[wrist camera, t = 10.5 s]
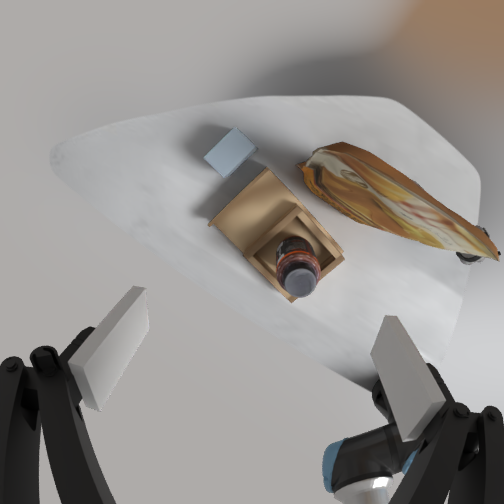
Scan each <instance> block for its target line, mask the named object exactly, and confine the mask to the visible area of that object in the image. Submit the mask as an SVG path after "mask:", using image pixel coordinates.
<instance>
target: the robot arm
mask: <svg viewBox="0 0 504 504" xmlns="http://www.w3.org/2000/svg"><path fill="white" fill-rule="evenodd" d="M149 329H150V328H149V318H148V308H147V296H146V288H143V287H137V286H133V287H132V288H131V289H130V290H129V291H128V292H127V294H126V295H125V296H124V297H123V298H122V299H121V300H120V301H119V302H118V303H117V305H116V306H115V307H114V308H113V309H112V310H111V311H110V313H109V314H108V315H107V316H106V317H105V318H104V319H103V321H102V322H101V323H100V324H99V325H98V326H97V327H96V328H94V327H88V328H86V329H84V330H82V331H81V332H80V333H79V334H78V335H77V337H76V339H74V340H73V341H72V342H71V344H70V345H69V346H68V347H67V348H66V349H65V350H64V351H63V352H62V354H61V355H60V356H58V353H57V351H56V349H55V348H53V347H51V346H41V347H38V348H36V349H35V350H33V351H32V353H31V354H30V360H31V363H32V365H33V367H26V366H25V365H24V363H23V361H22V359H20V358H19V357H15V356H13V357H9V358H6V359H5V360H4V361H3V362H2V364H1V365H0V504H40V501H39V447H40V446H39V445H40V433H41V423H42V429H43V435H44V440H45V445H46V450H47V454H48V459H49V462H50V467H51V471H52V474H53V477H54V481H55V485H56V488H57V491H58V494H59V497H60V500H61V503H62V504H116V503H115V500H114V498H113V496H112V494H111V492H110V490H109V487H108V485H107V483H106V480H105V478H104V476H103V474H102V471H101V468H100V466H99V464H98V461H97V458H96V456H95V453H94V450H93V447H92V444H91V441H90V439H89V435H88V432H87V429H86V426H85V422H84V419H83V415H82V412H81V408H80V406H79V403H80V401H81V399H83V401H84V403H85V405H86V406H87V407H89V408H91V409H94V410H97V411H99V412H101V410H102V408H103V406H104V404H105V403H106V401H107V399H108V397H109V396H110V394H111V392H112V391H113V389H114V387H115V385H116V383H117V382H118V380H119V378H120V377H121V375H122V373H123V372H124V370H125V369H126V367H127V365H128V364H129V362H130V360H131V358H132V356H133V355H134V354H135V352H136V350H137V349H138V347H139V345H140V344H141V342H142V341H143V339H144V337H145V336H146V334H147V333H148V331H149ZM370 354H371V357H372V359H373V362H374V364H375V367H376V369H377V372H378V374H379V377H380V379H379V380H378V382H377V383H376V384H375V386H374V388H373V391H372V398H373V401H374V404H375V406H376V408H377V409H378V410H379V411H380V412H381V413H382V414H383V416H385V418H386V419H387V420H388V423H389V424H388V425H385V426H383V427H379V428H377V429H374V430H371V431H368V432H365V433H363V434H360V435H357V436H353V437H350V438H344V439H343V440H341V441H338V442H335V443H332V444H330V445H329V446H328V447H327V448H326V450H325V452H324V456H323V465H322V467H323V468H322V471H323V477H324V485H325V489H326V490H327V491H328V492H329V493H334V498H335V499H337V500H339V501H341V502H342V503H343V504H444V502H445V499H446V497H447V495H448V492H449V490H450V492H449V498H448V504H504V424H503V417H502V414H501V412H500V411H499V410H498V409H497V408H496V407H494V406H487V407H485V408H484V410H483V411H482V412H481V413H473V412H470V410H469V408H468V407H467V406H466V405H464V404H462V403H458V402H455V401H454V399H453V397H452V395H451V393H450V391H449V390H448V388H447V386H446V384H445V383H444V381H443V379H442V378H441V376H440V374H439V372H438V371H437V369H436V368H435V367H434V366H433V365H431V364H430V363H425V361H424V360H423V358H422V356H421V355H420V353H419V351H418V349H417V348H416V346H415V345H414V343H413V341H412V340H411V338H410V336H409V335H408V333H407V332H406V330H405V328H404V327H403V325H402V324H401V322H400V320H399V319H398V317H397V316H387V315H385V317H384V320H383V323H382V325H381V328H380V331H379V333H378V336H377V338H376V341H375V344H374V346H373V348H372V351H371V353H370ZM478 448H479V451H478ZM401 471H402V472H403V474H404V475H405V476H404V478H403V480H402V482H401V483H400V485H399V487H398V488H397V490H396V492H395V494H394V495H393V497H392V498H391V500H390V501H389V495H388V489H389V488H390V487H391V485H392V484H393V477H392V475H393V474H396V473H399V472H401Z"/></svg>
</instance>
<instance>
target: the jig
mask: <svg viewBox="0 0 504 504" xmlns="http://www.w3.org/2000/svg"><path fill="white" fill-rule="evenodd" d="M212 224H214V225H215V226H216V227H217V228H218V229H219V230H220V231H221V232H222V233H223V234H224V235H225V236H227V237H228V238H229V239H230V240H231V241H232V242H233V243H234V244H235V245H236V246H237V247H238V248H239V249H240V250H241V251H242V252H243V253H244V254H243V256H244V257H245V258H246V259H247V260H248V261H249V262H250V263H251V264H252V265H253V266H254V267H255V268H256V269H257V270H258V271H259V272H260V273H261V274H262V275H263V276H264V277H265V278H266V279H267V280H268V281H269V282H270V283H271V284H272V285H273V286H274V287H275V288H276V289H277V290H278V291H279V292H280V293H281V294H282V295H284V296H285V297H286V298H287V299H288V300H289V301H290V302H291V303H292V302H293V301H295V300H296V299H297V298H298V297H294V296H292V295H290V294H289V293H288V292H287V291H285V290H284V289H283V288H282V287H281V286H280V285H279V283H278V280H277V276H276V251H277V248H278V245H279V244H280V243H281V242H282V241H283V240H284V239H285V238H287V237H290V236H300V237H303V238H305V239H306V240H308V241H309V243H310V244H311V245H312V247H313V250H314V252H315V255H316V257H317V260H318V262H319V265H320V270H321V275H320V280H321V279H322V278H323V277H324V276H326V275H327V274H328V273H329V272H330V271H332V270H333V269H334V268H335V267H336V266H338V265H339V264H340V263H341V262H342V261H343V260H345V259H344V257H343V256H342V253H343V250H342V249H341V248H340V246H339V245H338V244H337V243H336V242H335V240H334V239H333V238H332V237H331V236H330V235H329V234H328V232H327V231H326V230H325V229H324V228H323V227H322V226H321V224H320V223H319V222H318V221H317V220H316V219H315V218H314V217H313V215H312V214H311V213H310V212H309V211H308V210H307V209H306V208H305V207H304V206H303V204H302V203H301V202H300V201H299V200H298V199H297V198H296V197H295V196H294V195H293V194H292V192H291V191H290V190H289V189H288V188H287V187H286V186H285V185H284V184H283V183H282V182H281V181H280V180H279V179H278V178H277V177H276V176H275V175H274V174H273V172H272V171H271V170H270V169H269V168H268V167H266V168H265V169H264V170H263V171H262V172H261V173H260V174H259V175H258V176H257V177H256V178H255V179H254V180H252V181H251V182H250V183H249V184H248V185H247V186H246V187H245V188H244V189H243V190H242V191H241V192H240V193H239V194H238V195H237V196H236V197H235V198H234V199H233V200H232V201H231V202H230V203H229V204H228V205H227V206H226V207H225V208H224V209H223V210H222V211H221V212H220V213H219V214H218V215H217V216H216V217H215V218H214V219H213V220H212V221H211V222H210V223H209V224H208V226H209V227H210V226H211V225H212ZM320 280H319V281H320Z"/></svg>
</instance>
